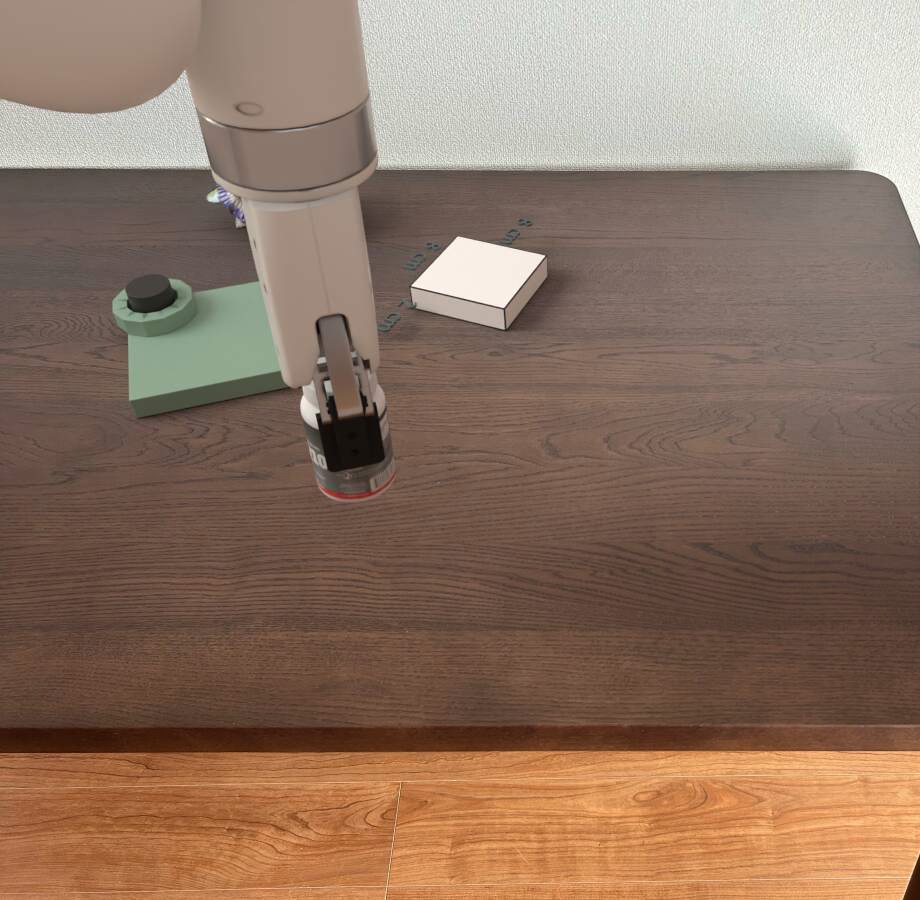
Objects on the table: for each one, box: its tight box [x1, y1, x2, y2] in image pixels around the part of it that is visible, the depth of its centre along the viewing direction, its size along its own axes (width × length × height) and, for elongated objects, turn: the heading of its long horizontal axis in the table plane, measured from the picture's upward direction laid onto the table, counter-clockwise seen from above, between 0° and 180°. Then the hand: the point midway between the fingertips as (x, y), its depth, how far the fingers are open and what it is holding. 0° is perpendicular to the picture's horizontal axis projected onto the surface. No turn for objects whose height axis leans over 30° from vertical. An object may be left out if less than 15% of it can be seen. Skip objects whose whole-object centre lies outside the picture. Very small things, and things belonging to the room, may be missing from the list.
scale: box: [112, 278, 291, 419], centre depth 83 cm, size 17×15×4 cm
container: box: [377, 217, 549, 333], centre depth 91 cm, size 20×11×3 cm, turn 159°
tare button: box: [124, 273, 175, 314], centre depth 83 cm, size 4×4×2 cm
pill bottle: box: [299, 352, 397, 504], centre depth 56 cm, size 5×5×8 cm
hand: (348, 430), depth 56 cm, fingers closed on pill bottle, 4 cm apart
